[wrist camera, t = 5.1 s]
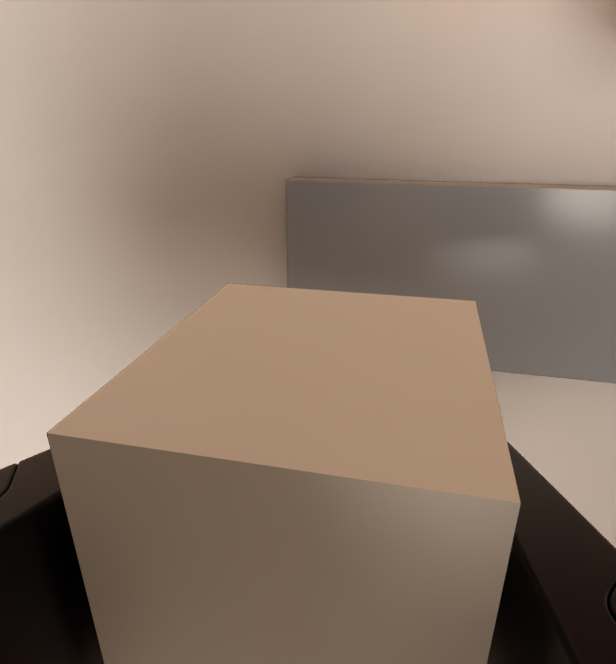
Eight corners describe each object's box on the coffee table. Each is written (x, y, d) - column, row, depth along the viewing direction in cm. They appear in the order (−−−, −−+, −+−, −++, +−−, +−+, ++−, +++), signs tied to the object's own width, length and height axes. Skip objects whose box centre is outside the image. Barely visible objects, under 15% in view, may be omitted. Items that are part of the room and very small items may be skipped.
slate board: (805, 388, 19) (828, 404, 18) (295, 338, 23) (288, 349, 21) (893, 194, 16) (927, 200, 15) (294, 176, 20) (286, 180, 19)
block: (446, 505, 10) (457, 802, 6) (241, 474, 11) (115, 709, 7) (475, 301, 9) (520, 503, 4) (228, 283, 10) (47, 433, 5)
